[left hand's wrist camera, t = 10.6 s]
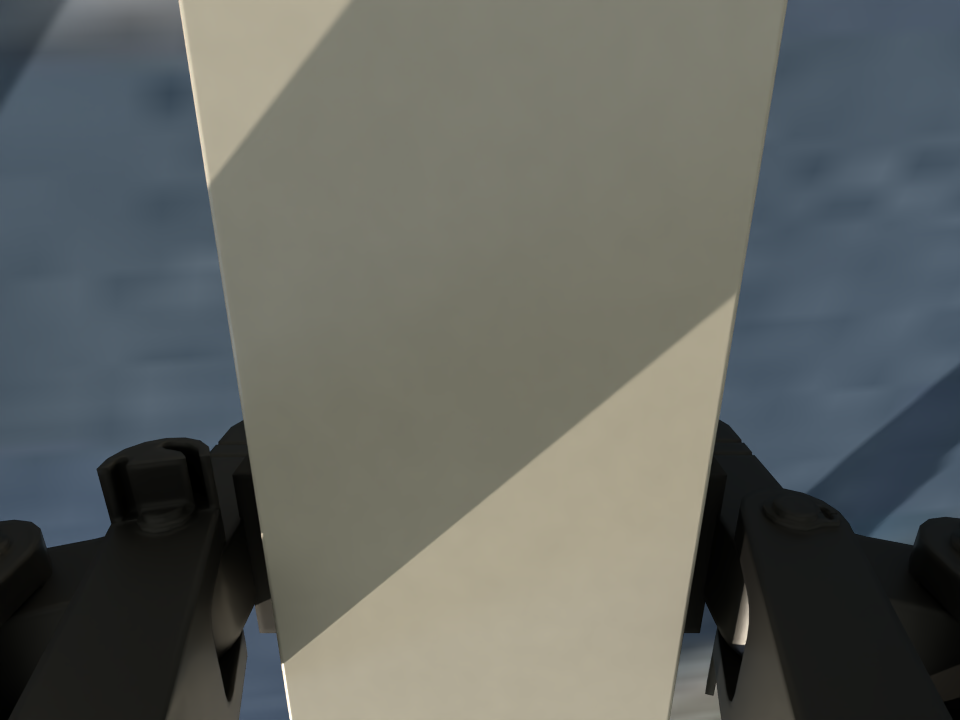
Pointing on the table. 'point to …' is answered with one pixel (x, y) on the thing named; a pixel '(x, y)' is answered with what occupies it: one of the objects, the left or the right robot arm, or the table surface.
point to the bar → (481, 332)
